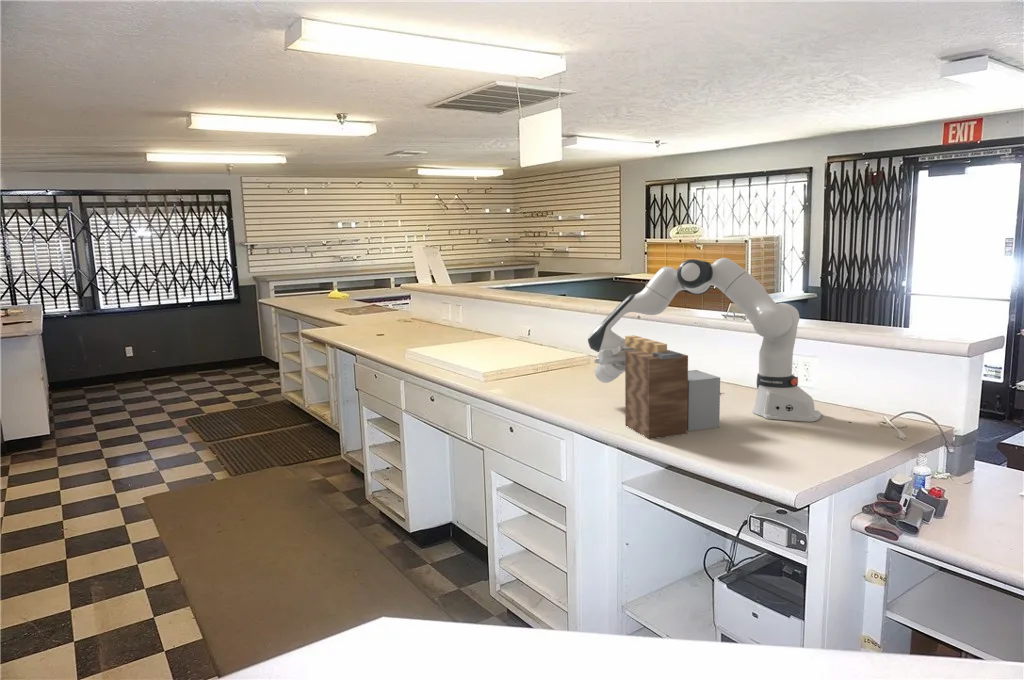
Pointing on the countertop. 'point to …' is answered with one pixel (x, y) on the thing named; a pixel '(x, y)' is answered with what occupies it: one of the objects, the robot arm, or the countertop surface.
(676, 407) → the pedestal
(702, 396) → the step
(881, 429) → the countertop surface
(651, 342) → the wooden bar
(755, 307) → the robot arm
